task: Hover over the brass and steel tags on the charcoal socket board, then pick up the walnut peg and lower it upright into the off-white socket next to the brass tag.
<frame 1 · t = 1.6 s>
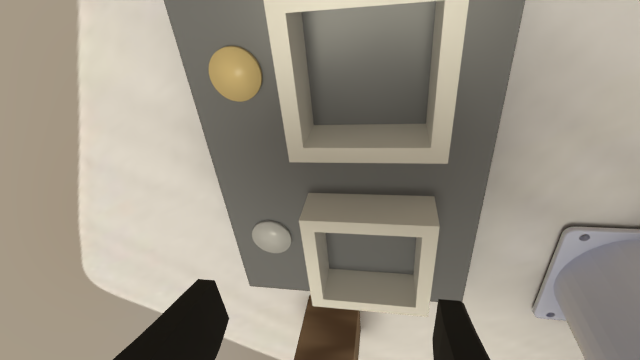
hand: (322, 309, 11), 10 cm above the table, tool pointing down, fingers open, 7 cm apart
walnut peg: (335, 313, 28), on the table
socket board: (344, 154, 20), on the table
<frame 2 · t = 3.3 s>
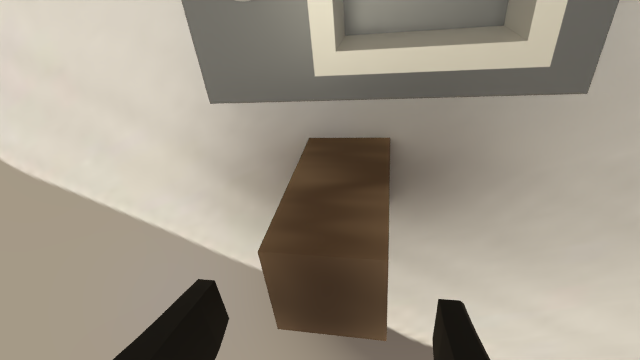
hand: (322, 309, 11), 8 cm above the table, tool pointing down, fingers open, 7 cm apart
walnut peg: (350, 172, 18), on the table
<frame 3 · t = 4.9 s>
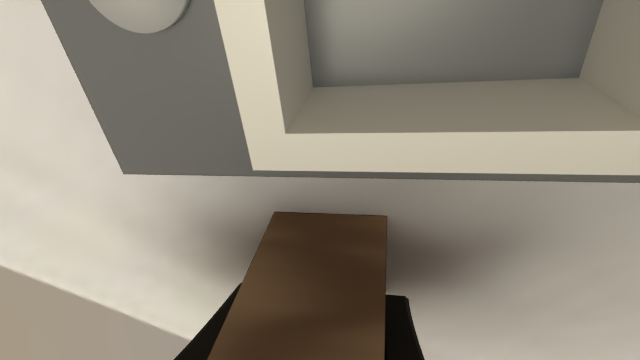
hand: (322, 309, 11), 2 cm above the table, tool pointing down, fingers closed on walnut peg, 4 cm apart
walnut peg: (332, 254, 13), on the table, touching gripper
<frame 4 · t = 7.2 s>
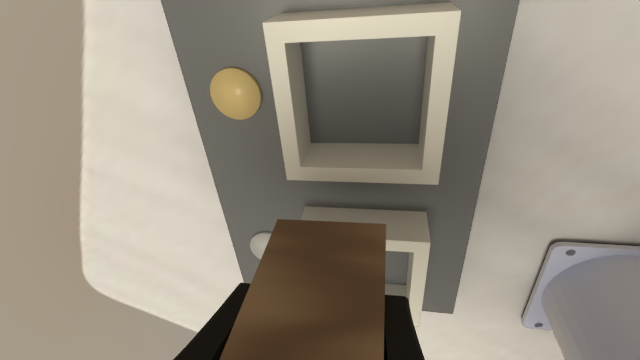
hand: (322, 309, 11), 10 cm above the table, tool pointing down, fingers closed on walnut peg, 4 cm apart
walnut peg: (333, 259, 13), point 8 cm above the table, touching gripper
socket board: (340, 169, 20), on the table
when the fingers open (5 cm above the table, at t = 9.7 s): walnut peg stays where it is, resting on socket board.
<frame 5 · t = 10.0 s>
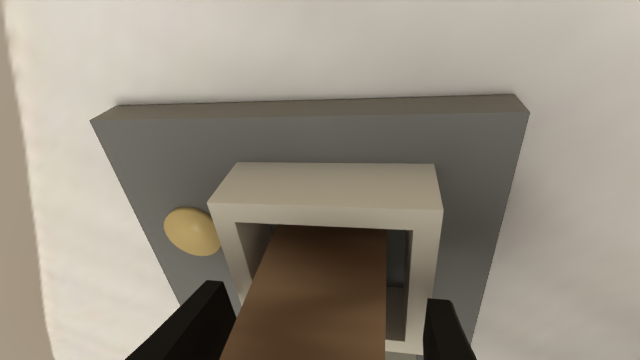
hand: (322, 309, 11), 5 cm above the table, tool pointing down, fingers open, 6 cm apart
walnut peg: (337, 246, 14), point 2 cm above the table, touching socket board
socket board: (318, 290, 18), on the table
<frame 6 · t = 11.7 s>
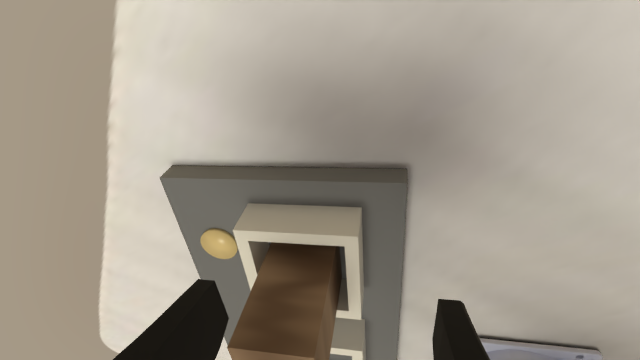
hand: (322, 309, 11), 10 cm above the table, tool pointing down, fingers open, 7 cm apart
walnut peg: (310, 253, 22), point 1 cm above the table, touching socket board
socket board: (301, 282, 27), on the table
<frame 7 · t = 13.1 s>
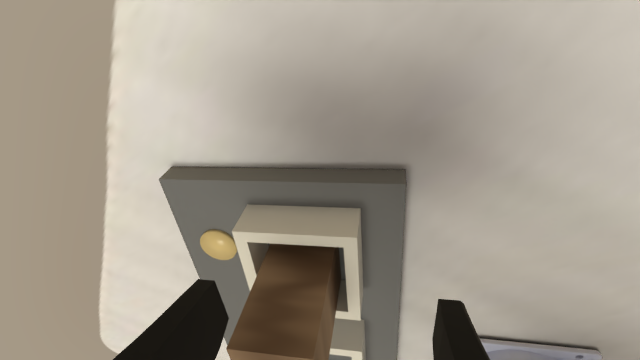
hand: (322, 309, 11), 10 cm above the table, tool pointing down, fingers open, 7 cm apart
walnut peg: (309, 254, 23), point 1 cm above the table, touching socket board
socket board: (300, 282, 27), on the table
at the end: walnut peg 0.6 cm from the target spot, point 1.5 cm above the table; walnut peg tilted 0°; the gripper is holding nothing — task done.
